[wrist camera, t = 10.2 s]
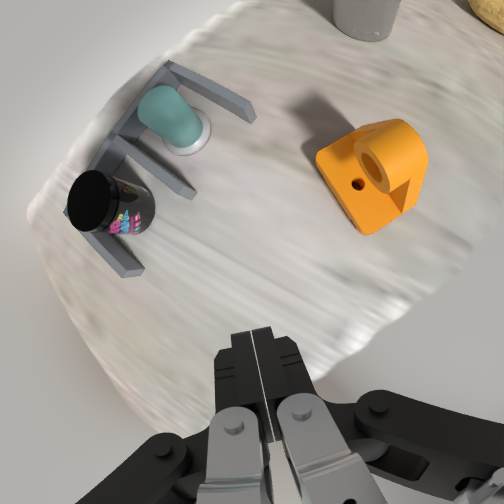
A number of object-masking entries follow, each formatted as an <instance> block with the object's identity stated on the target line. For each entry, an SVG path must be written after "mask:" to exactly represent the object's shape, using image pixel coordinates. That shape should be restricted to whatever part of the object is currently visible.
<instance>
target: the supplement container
mask: <svg viewBox="0 0 504 504" xmlns="http://www.w3.org/2000/svg"><path fill="white" fill-rule="evenodd" d="M67 211H68V216H69V219H70V221H71V223H72V225H73V226H74V227H75V228H76V229H77V230H79V231H82V232H91V233H112V234H126V235H137V234H140V233H142V232H143V231H145V230H146V229H147V228H148V227H149V226H150V224H151V223H152V221H153V218H154V215H155V202H154V199H153V196H152V195H151V193H150V192H149V191H148V190H147V189H146V188H144V187H141V186H139V185H136V184H133V183H130V182H128V181H125V180H122V179H119V178H116V177H114V176H111V175H109V174H107V173H103V172H100V171H97V170H89V171H86V172H84V173H83V174H81V175H80V176H79V177H78V178H77V179H76V180H75V182H74V183H73V185H72V187H71V189H70V192H69V195H68V201H67Z"/></svg>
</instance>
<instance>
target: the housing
mask: <svg viewBox="0 0 504 504" xmlns="http://www.w3.org/2000/svg"><path fill="white" fill-rule="evenodd" d="M181 84H182V85H184V86H185V87H187V88H189V89H191V90H193V91H195V92H197V93H199V94H200V95H202V96H204V97H206V98H208V99H209V100H211V101H213V102H215V103H216V104H218V105H220V106H222V107H223V108H225V109H227V110H229V111H230V112H232V113H234V114H235V115H237V116H239V117H240V118H242V119H244V120H245V121H247V122H248V123H250V124H252V122H253V121H254V120H255V119H256V118H257V116H256V114H255V111H254V109H253V106H252V104H251V102H250V101H248V100H247V99H245V98H243V97H241V96H240V95H238V94H236V93H234V92H232V91H230V90H229V89H227V88H225V87H223V86H221V85H219V84H217V83H215V82H213V81H211V80H209V79H207V78H205V77H203V76H201V75H199V74H197V73H195V72H193V71H191V70H189V69H187V68H185V67H183V66H180V65H178V64H176V63H174V62H172V61H169V60H168V62H167V63H166V64H165V65H164V66H163V67H162V68H161V69H160V70H159V72H158V73H157V74H156V75H155V76H154V77H153V78H152V80H151V81H150V82H149V83H148V84H147V86H146V87H145V88H144V89H143V90H142V92H141V93H140V94H139V95H138V97H137V98H136V99H135V100H134V102H133V103H132V104H131V106H130V107H129V108H128V110H127V111H126V112H125V114H124V115H123V116H122V118H121V119H120V120H119V122H118V123H117V124H116V126H115V127H114V129H113V130H112V132H111V133H110V134H109V136H108V137H107V139H106V140H105V142H104V143H103V145H102V146H101V148H100V149H99V151H98V153H97V154H96V156H95V157H94V159H93V160H92V162H91V164H90V165H89V167H88V169H87V170H86V171H89V170H97V171H100V172H103V173H107V174H109V175H111V176H112V175H113V174H114V172H115V171H116V169H117V168H118V166H119V165H120V163H121V162H122V160H123V159H124V157H125V156H126V154H128V155H129V156H130V157H131V158H133V159H134V160H135V161H136V162H138V163H139V164H140V165H141V166H143V167H144V168H145V169H146V170H148V171H149V172H150V173H151V174H153V175H154V176H155V177H156V178H158V179H159V180H160V181H161V182H163V183H164V184H165V185H166V186H168V187H169V188H170V189H171V190H173V191H174V192H175V193H176V194H178V195H180V196H183V197H185V198H187V199H190V200H192V199H193V198H194V197H195V195H196V194H197V192H196V191H195V190H194V189H192V188H191V187H190V186H188V185H187V184H186V183H184V182H183V181H182V180H181V179H179V178H178V177H177V176H175V175H174V174H173V173H171V172H170V171H169V170H167V169H166V168H165V167H164V166H162V165H161V164H160V163H158V162H157V161H156V160H154V159H153V158H152V157H150V156H149V155H148V154H146V153H145V152H144V151H142V150H141V149H140V148H139V147H137V146H136V145H135V144H134V143H135V142H136V140H137V139H138V137H139V136H140V135H141V133H142V132H143V131H144V129H145V128H146V127H149V128H150V129H151V130H153V131H154V132H156V133H157V134H158V135H160V136H161V137H162V138H163V142H164V145H165V146H166V148H167V149H168V150H170V151H171V152H172V153H174V154H176V155H179V156H189V155H192V154H195V153H196V152H198V151H200V150H201V149H202V148H203V147H204V146H205V145H206V143H207V142H208V140H209V138H210V135H211V123H210V121H209V119H208V118H207V116H206V115H205V114H204V113H203V112H202V111H200V110H198V109H194V108H191V107H190V106H189V105H188V104H187V103H186V101H185V100H184V99H183V98H182V97H181V96H180V95H179V93H178V92H177V91H176V89H177V88H178V87H179V86H180V85H181ZM63 213H64V214H65V216H66V217H67V218H68V219H69V216H68V211H67V206H66V208H65V210H64V212H63ZM69 220H70V219H69ZM70 222H71V221H70ZM78 231H79V230H78ZM79 232H80V233H81V234H82V235H83V237H84V238H85V239H86V240H87V241H88V242H89V243H90V245H91V246H92V247H93V248H94V249H95V250H96V251H97V252H98V253H99V254H100V256H101V257H102V258H103V259H104V260H105V261H106V262H107V263H108V264H109V265H110V266H111V267H112V268H113V269H114V270H115V271H116V272H117V274H118V275H119V276H120V277H121V278H128V277H134V276H141V274H142V272H143V271H144V269H145V268H144V267H143V266H142V265H141V264H140V263H139V262H138V261H137V260H135V259H134V258H133V257H132V256H131V255H130V254H129V253H128V252H127V251H126V250H125V249H124V248H123V247H122V246H121V245H120V244H119V243H118V242H117V241H116V240H115V239H114V238H113V237H112V236H111V235H110V234H109V233H91V232H82V231H79Z"/></svg>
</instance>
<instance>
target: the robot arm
mask: <svg viewBox="0 0 504 504" xmlns="http://www.w3.org/2000/svg"><path fill="white" fill-rule="evenodd" d="M400 2H401V0H333V21H334V23H335V25H336V26H337V27H338V28H339V29H340V30H341V31H342V32H343V33H345V34H347V35H348V36H350V37H353V38H355V39H359V40H363V41H380V40H383V39H385V38H387V37H388V36H389V34H390V33H391V30H392V27H393V23H394V20H395V18H396V14H397V11H398V8H399V5H400ZM252 335H253V340H254V345H255V350H256V355H257V359H258V364H259V369H260V374H261V378H262V383H263V388H264V392H265V397H266V402H267V406H268V410H269V415H270V419H271V423H272V427H273V432H274V436H275V440H276V441H280V440H282V443H283V447H284V452H285V456H286V461H287V463H288V466H289V469H290V472H291V474H292V477H293V480H294V483H295V485H296V489H297V491H298V494H299V497H300V499H301V502H302V504H388V503H387V501H386V500H385V498H384V496H383V494H382V492H381V491H380V489H379V487H378V485H377V484H376V482H375V480H374V479H373V477H372V475H371V473H373V474H375V475H378V476H380V477H382V478H385V479H387V480H390V481H392V482H395V483H398V484H400V485H403V486H405V487H408V488H411V489H414V490H417V491H420V492H423V493H426V494H429V495H432V496H436V497H439V498H443V499H446V500H449V501H453V504H504V424H501V423H497V422H492V421H488V420H484V419H480V418H476V417H472V416H469V415H465V414H461V413H458V412H454V411H450V410H447V409H443V408H440V407H437V406H434V405H430V404H427V403H424V402H421V401H417V400H414V399H411V398H408V397H405V396H402V395H399V394H396V393H393V392H390V391H387V390H373V391H370V392H368V393H366V394H364V395H363V396H361V397H360V398H359V400H358V401H357V403H350V404H349V403H348V404H335V403H331V402H327V401H325V400H323V399H322V398H321V397H319V396H318V395H317V393H316V391H315V389H314V387H313V384H312V382H311V379H310V377H309V374H308V372H307V369H306V367H305V364H304V362H303V359H302V357H301V354H300V352H299V349H298V347H297V344H296V343H295V342H294V341H293V340H291V339H290V338H289V337H288V336H285V337H281V338H276V339H274V336H273V333H272V329H271V327H270V326H269V327H264V328H260V329H255V330H252ZM231 343H232V348H227V349H222V350H219V352H218V354H217V355H216V357H215V359H214V371H215V372H214V377H215V408H216V413H215V416H214V417H213V418H212V420H211V422H210V425H209V426H208V427H207V428H206V429H205V430H203V431H202V432H199V433H197V434H195V435H192V436H189V437H187V438H184V439H182V438H181V437H180V436H178V435H176V434H173V433H159V434H156V435H154V436H152V437H150V438H149V439H148V440H147V441H146V442H145V443H144V444H142V445H141V446H140V447H139V448H138V449H137V450H136V451H135V452H134V453H133V454H132V455H131V456H130V457H128V458H127V459H126V460H125V461H124V462H123V463H122V464H121V465H120V466H119V467H117V468H116V469H115V470H114V471H113V472H112V473H111V474H109V475H108V476H107V477H106V478H105V479H104V480H103V481H101V482H100V483H99V484H98V485H97V486H96V487H95V488H93V489H92V490H91V491H90V492H89V493H88V494H86V495H85V496H84V497H83V498H81V499H80V500H79V501H78V502H77V503H75V504H274V495H273V485H272V475H271V466H270V453H269V448H268V443H271V442H274V440H273V436H272V431H271V427H270V422H269V418H268V413H267V408H266V403H265V399H264V394H263V389H262V384H261V379H260V375H259V370H258V365H257V361H256V356H255V352H254V347H253V343H252V338H251V334H250V331H245V332H240V333H235V334H231Z"/></svg>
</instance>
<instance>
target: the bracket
mask: <svg viewBox="0 0 504 504" xmlns="http://www.w3.org/2000/svg"><path fill="white" fill-rule="evenodd" d="M315 163H316V166H317V168H318V169H319V171H320V172H321V174H322V175H323V177H324V180H325V182H326V183H327V185H328V186H329V188H330V189H331V191H332V192H333V194H334V195H335V197H336V198H337V200H338V202H339V203H340V205H341V206H342V208H343V209H344V211H345V212H346V214H347V216H348V217H349V219H351V220H352V221H353V223H354V225H355V226H356V228H357V230H358V231H359V232H360V233H361V234H363V235H369V234H373V233H374V232H376V231H377V230H379V229H380V228H382V227H383V226H385V225H386V224H388V223H389V222H391V221H392V220H394V219H395V218H397V217H398V216H400V215H401V214H403V213H404V212H406V211H407V210H408V209H410V208H411V207H413V206H414V205H416V203H417V199H418V196H419V193H420V190H421V187H422V183H423V180H424V176H425V173H426V169H427V166H428V155H427V151H426V148H425V146H424V143H423V142H422V140H421V138H420V136H419V135H418V134H417V132H416V131H415V130H414V129H413V128H412V127H411V126H410V125H409V124H408V123H406V122H405V121H403V120H401V119H392V120H387V121H382V122H377V123H373V124H368V125H363V126H361V127H360V128H358V129H356V130H354V131H353V132H351V133H349V134H347V135H346V136H344V137H342V138H341V139H339V140H337V141H335V142H334V143H332V144H330V145H329V146H327V147H325V148H324V149H322V150H320V151H319V152H318V153H317V155H316V161H315ZM352 182H356V183H358V184H359V185H360V187H361V190H360V191H357V190H355V189H354V188H353V187H352Z"/></svg>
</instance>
